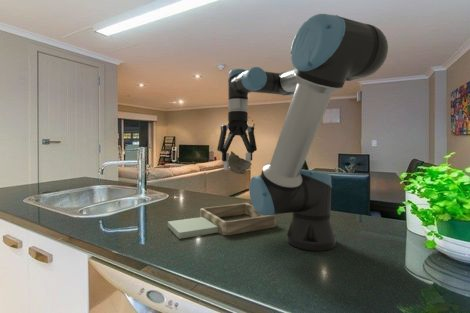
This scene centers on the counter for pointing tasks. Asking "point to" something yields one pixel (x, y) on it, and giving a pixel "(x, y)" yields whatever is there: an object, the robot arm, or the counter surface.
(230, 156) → the rock
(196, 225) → the ledge
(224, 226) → the wooden tray
